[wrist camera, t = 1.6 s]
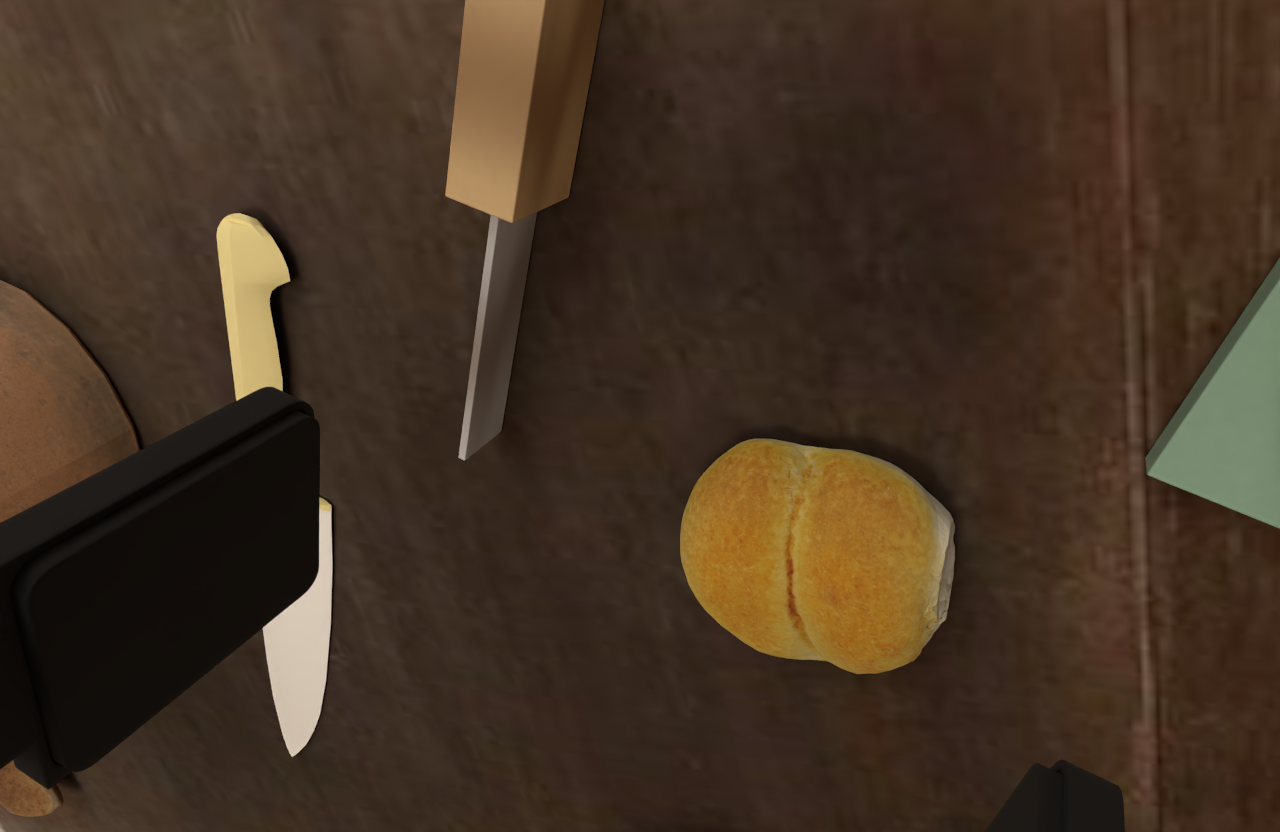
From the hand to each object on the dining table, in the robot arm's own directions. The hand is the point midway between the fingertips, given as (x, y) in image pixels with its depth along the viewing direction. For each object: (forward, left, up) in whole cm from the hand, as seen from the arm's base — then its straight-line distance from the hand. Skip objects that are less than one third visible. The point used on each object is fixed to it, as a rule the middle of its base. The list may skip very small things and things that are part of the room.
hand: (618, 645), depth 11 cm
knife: (+24, -21, -18) cm, 37 cm away
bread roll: (+10, +2, -18) cm, 21 cm away
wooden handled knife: (+3, -11, -18) cm, 21 cm away
